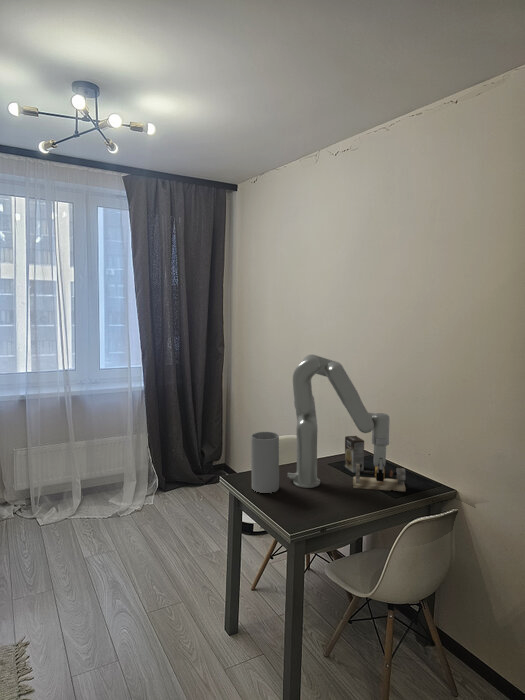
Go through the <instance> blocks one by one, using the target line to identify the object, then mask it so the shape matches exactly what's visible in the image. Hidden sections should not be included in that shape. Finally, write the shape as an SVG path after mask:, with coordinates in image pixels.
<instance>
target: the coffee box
mask: <svg viewBox="0 0 525 700" xmlns="http://www.w3.org/2000/svg"><path fill="white" fill-rule="evenodd" d="M364 463H365V440H364V439H362V438H361V437H359V436H358V435H347V436H346V435H345V436H344V467H345V468H346V469H347V470H349V471H350V472H351V473H355V474H356V464H360V470H363V471H365V470H364V467H365V466H364V465H365V464H364Z"/></svg>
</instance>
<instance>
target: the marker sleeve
mask: <svg viewBox="0 0 525 700" xmlns="http://www.w3.org/2000/svg"><path fill="white" fill-rule="evenodd" d="M378 469H379V467H378ZM374 471H375V474H374V478H375V479H376V474H377V467H375V466H374ZM385 472H386V470H385V467H384V466H383V473H384V478H385Z"/></svg>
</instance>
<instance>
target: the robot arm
mask: <svg viewBox="0 0 525 700" xmlns="http://www.w3.org/2000/svg"><path fill="white" fill-rule="evenodd" d="M315 375H319V376H323V377H326V378H327V379H328V381H329V382H330V384H331V386H332V388H333V389H334V391H335V393H336V394H337V396H338V398H339V399H340V401H341V403H342V405H343V406H344V408H345V409H346V411H347V413H348V414H349V416H350V418H351V419H352V421H353V423H354V424H355V426H356V428H357V429H358V431H360V433H363V434H369V433H372V435H371V444H372V445H373V458H372V459H373V460H372V462H373V466H374V468H375V467H377V474H376V480H377V481H384V478H385V477H384V473H383V467H384V468H385V467H386V458H387V446H389V444H390V415H388V414H387V413H383V412H376V413H374V412H369V411H367V408H366V407H365V405H364V403H363V401H362V398H361V396H360V394H359V392H358V390H357V389H356V387H355V385H354V384H353V382H352V380H351V378H350V377H349V375H348V373H347V371H346V370H345V368H344V366H343V365H342V364H341V363H340V362H338V361H336V360H332V359H329V358H325V357H323V356H319V355H316V354H308V355H306V356H305V357H304V358H303V360H302V361H301V362H300V363H299V364H298V365H297V366H296V367H295V369H294V371H293V374H292V387H293V389H292V390H293V397H294V398H293V405H294V408H295V409H294V410H295V413H296V414H295V415H296V431H295V432H296V434H295V435H296V472H294V473H293V472H287V478H289V479H292V480H293V484H294V485H295V486H297V487H299V488H304V489H311V488H312V489H313V488H315V487H318V486H320V485H321V480H320V478H318V419H317V410H316V403H315V402H316V401H315V397H314V395H313V389H312V388H313V387H312V379H313V377H314V376H315ZM378 467H379V469H378Z"/></svg>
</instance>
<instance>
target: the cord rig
mask: <svg viewBox="0 0 525 700" xmlns="http://www.w3.org/2000/svg"><path fill="white" fill-rule="evenodd" d="M395 470H396V472H394V471H393V470H391V469H390V470H389V471H385V475H387V476H389V477H390V478H385V477H384V481H377V480H376V479H375V477H366V476H361V475H360V474H373V475H375V470H364V471H363V470H360V464H356V472H355V476H353V477H352V485H353V486H352V487H353V489H364V490H379V491H391V490H393V492H396V491H397V492H406V489H407V488H406V485H405V481H406V469H405V468H397V467H396V469H395ZM393 476H395V479H394V478H392V477H393Z"/></svg>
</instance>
